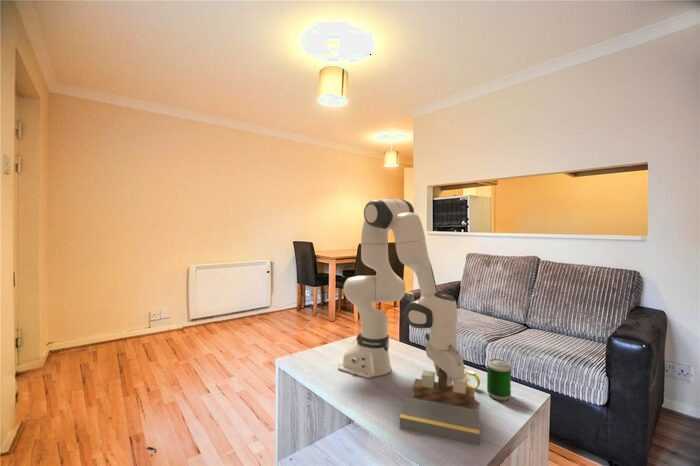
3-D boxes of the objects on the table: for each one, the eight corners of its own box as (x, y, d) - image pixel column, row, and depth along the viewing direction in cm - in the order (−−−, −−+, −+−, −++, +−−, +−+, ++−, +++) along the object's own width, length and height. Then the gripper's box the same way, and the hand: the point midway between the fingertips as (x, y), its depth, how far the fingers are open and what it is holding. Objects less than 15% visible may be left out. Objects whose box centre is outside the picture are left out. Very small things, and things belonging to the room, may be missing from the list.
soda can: (509, 404, 107) (509, 368, 107) (485, 397, 111) (485, 363, 111) (511, 394, 114) (512, 360, 113) (488, 388, 118) (489, 356, 117)
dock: (399, 427, 95) (399, 416, 95) (407, 406, 106) (407, 396, 106) (479, 445, 87) (479, 433, 87) (478, 420, 98) (478, 409, 98)
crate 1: (421, 386, 112) (421, 374, 112) (423, 381, 115) (423, 370, 115) (433, 388, 110) (433, 376, 110) (434, 383, 114) (434, 371, 114)
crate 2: (452, 391, 108) (453, 380, 108) (453, 386, 112) (453, 374, 112) (465, 393, 107) (465, 382, 107) (465, 388, 110) (465, 376, 110)
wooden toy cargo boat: (412, 397, 112) (413, 369, 112) (415, 389, 118) (415, 362, 117) (474, 409, 105) (474, 378, 105) (474, 399, 110) (474, 371, 110)
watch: (480, 389, 117) (481, 374, 117) (477, 392, 115) (478, 376, 115) (465, 382, 122) (466, 367, 121) (461, 385, 120) (462, 370, 119)
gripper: (469, 351, 101) (469, 394, 102) (438, 330, 121) (438, 367, 122) (451, 353, 100) (451, 397, 100) (422, 332, 120) (422, 368, 120)
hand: (443, 380), depth 111 cm, fingers open, 5 cm apart
